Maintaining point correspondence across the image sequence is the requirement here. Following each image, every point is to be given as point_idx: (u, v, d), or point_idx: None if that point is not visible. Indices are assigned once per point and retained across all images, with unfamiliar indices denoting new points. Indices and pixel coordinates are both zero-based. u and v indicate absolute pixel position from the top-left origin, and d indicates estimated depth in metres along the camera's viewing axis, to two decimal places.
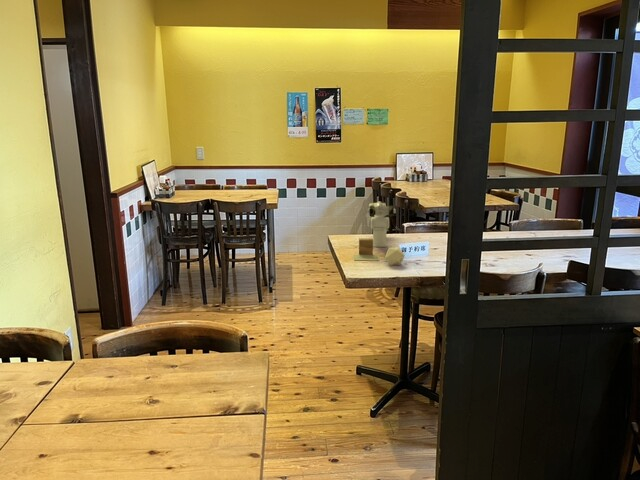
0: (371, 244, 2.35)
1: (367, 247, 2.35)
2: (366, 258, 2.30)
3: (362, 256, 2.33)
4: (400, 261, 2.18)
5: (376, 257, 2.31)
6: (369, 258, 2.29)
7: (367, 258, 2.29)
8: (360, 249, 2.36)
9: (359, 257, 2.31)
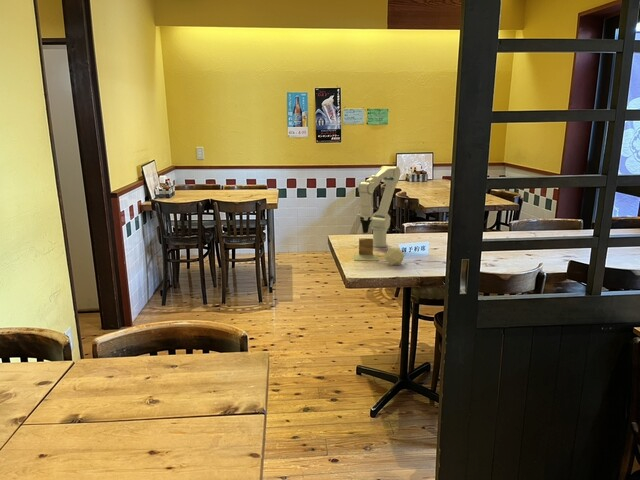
0: (371, 244, 2.35)
1: (367, 247, 2.35)
2: (366, 258, 2.30)
3: (362, 256, 2.33)
4: (400, 261, 2.18)
5: (376, 257, 2.31)
6: (369, 258, 2.29)
7: (367, 258, 2.29)
8: (360, 249, 2.36)
9: (359, 257, 2.31)
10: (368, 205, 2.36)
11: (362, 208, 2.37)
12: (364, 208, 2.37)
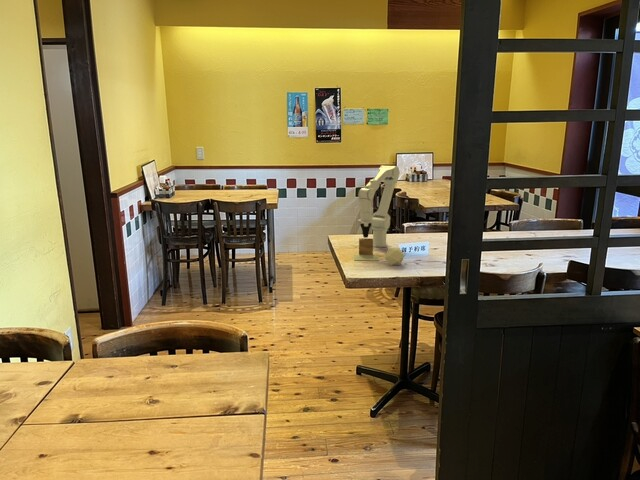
0: (371, 244, 2.35)
1: (367, 247, 2.35)
2: (366, 258, 2.30)
3: (362, 256, 2.33)
4: (400, 261, 2.18)
5: (376, 257, 2.31)
6: (369, 258, 2.29)
7: (367, 258, 2.29)
8: (360, 249, 2.36)
9: (359, 257, 2.31)
10: (368, 211, 2.37)
11: (362, 214, 2.38)
12: (364, 214, 2.38)
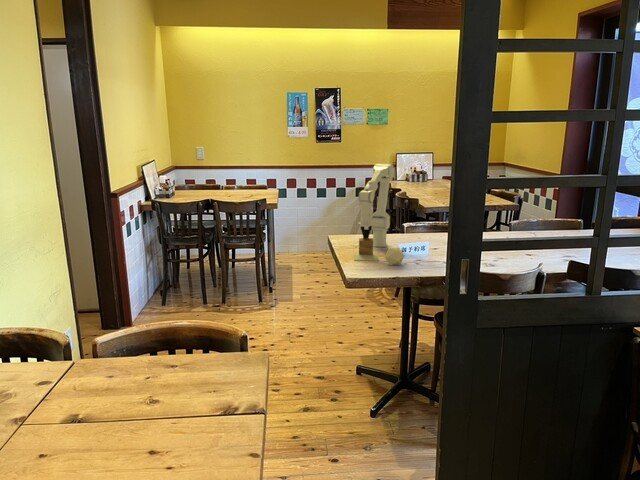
0: (371, 244, 2.34)
1: (368, 247, 2.35)
2: (366, 258, 2.30)
3: (362, 256, 2.33)
4: (400, 261, 2.18)
5: (376, 257, 2.31)
6: (369, 258, 2.29)
7: (367, 258, 2.29)
8: (360, 249, 2.35)
9: (359, 257, 2.31)
10: (369, 214, 2.33)
11: (362, 217, 2.33)
12: (364, 217, 2.33)
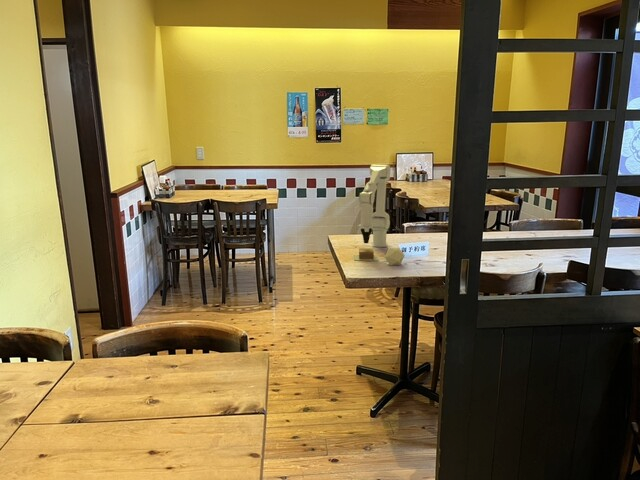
0: None
1: None
2: None
3: None
4: (400, 261, 2.18)
5: (376, 257, 2.31)
6: None
7: None
8: None
9: None
10: (370, 216, 2.28)
11: (363, 219, 2.28)
12: (365, 219, 2.28)
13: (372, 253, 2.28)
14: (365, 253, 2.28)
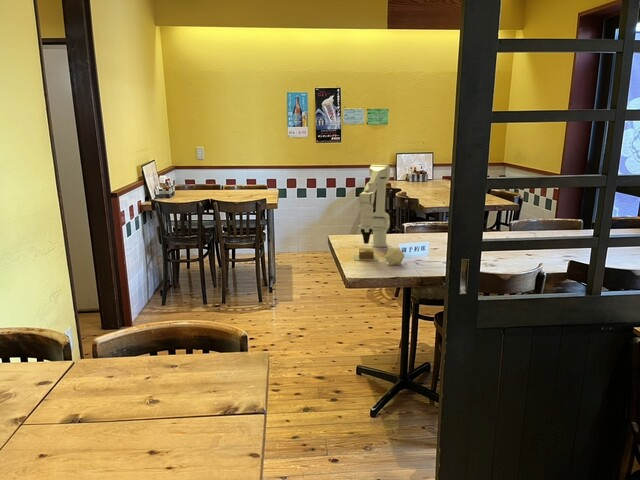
0: None
1: None
2: None
3: None
4: (400, 261, 2.18)
5: (376, 257, 2.31)
6: None
7: None
8: None
9: None
10: (370, 216, 2.27)
11: (363, 219, 2.28)
12: (365, 219, 2.27)
13: (372, 253, 2.28)
14: (365, 253, 2.28)
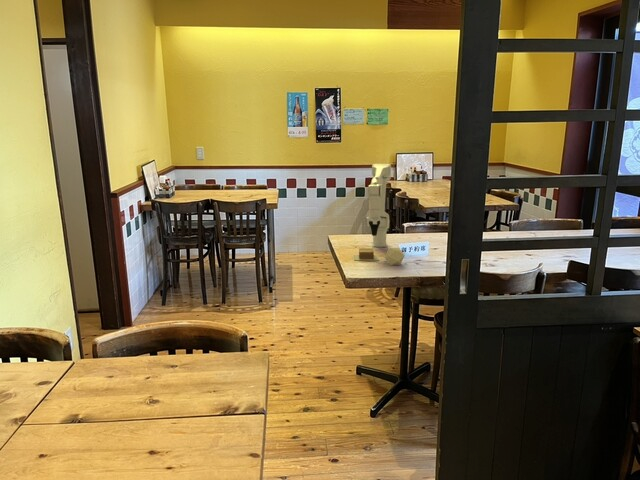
0: None
1: None
2: None
3: None
4: (400, 261, 2.18)
5: (376, 257, 2.31)
6: None
7: None
8: None
9: None
10: (379, 208, 2.29)
11: (371, 211, 2.29)
12: (373, 211, 2.28)
13: (372, 253, 2.28)
14: (365, 253, 2.28)
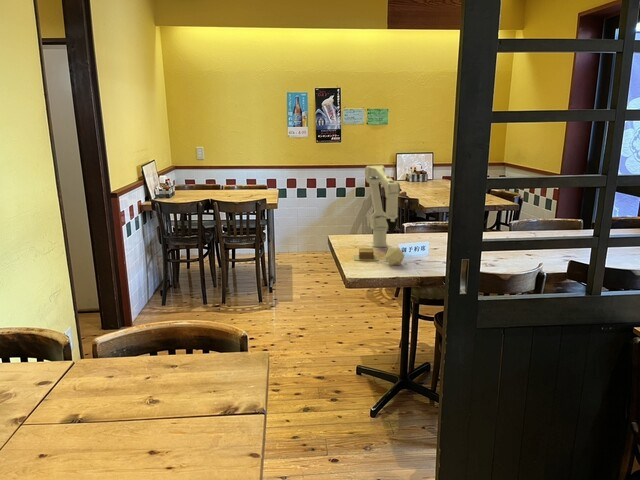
0: None
1: None
2: None
3: None
4: (400, 261, 2.18)
5: (376, 257, 2.31)
6: None
7: None
8: None
9: None
10: (397, 205, 2.35)
11: (388, 209, 2.34)
12: (390, 209, 2.33)
13: (372, 253, 2.28)
14: (365, 253, 2.28)
